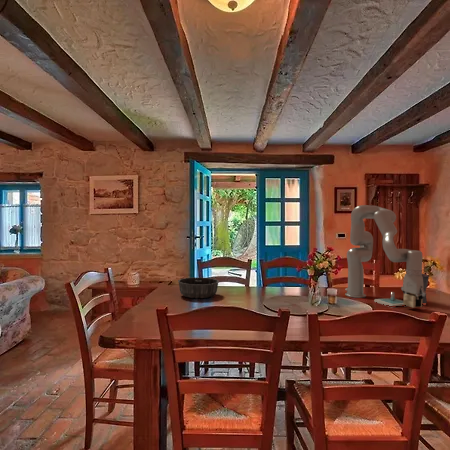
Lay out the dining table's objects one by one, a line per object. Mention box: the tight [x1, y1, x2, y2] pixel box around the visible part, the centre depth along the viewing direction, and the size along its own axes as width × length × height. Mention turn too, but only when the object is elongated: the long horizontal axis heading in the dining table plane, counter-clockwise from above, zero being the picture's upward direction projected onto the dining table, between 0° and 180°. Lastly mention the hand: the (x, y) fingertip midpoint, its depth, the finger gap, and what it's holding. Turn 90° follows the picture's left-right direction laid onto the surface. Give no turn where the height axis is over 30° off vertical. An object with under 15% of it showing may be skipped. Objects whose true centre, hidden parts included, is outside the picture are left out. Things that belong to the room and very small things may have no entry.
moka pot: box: [421, 273, 430, 304], centre depth 200 cm, size 10×15×20 cm, turn 15°
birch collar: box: [402, 293, 423, 309], centre depth 186 cm, size 6×6×6 cm
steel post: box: [390, 291, 396, 301], centre depth 198 cm, size 2×2×5 cm
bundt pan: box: [178, 276, 220, 299], centre depth 216 cm, size 26×26×10 cm
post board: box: [374, 297, 404, 307], centre depth 198 cm, size 14×14×2 cm
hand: (412, 304), depth 186 cm, fingers closed on birch collar, 6 cm apart
